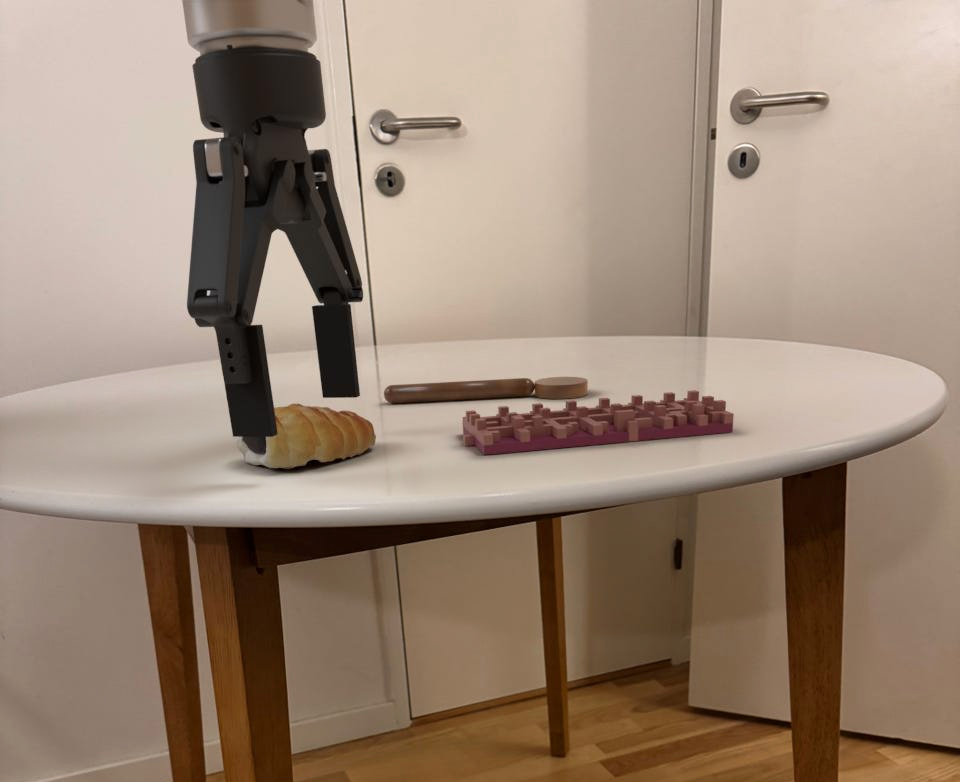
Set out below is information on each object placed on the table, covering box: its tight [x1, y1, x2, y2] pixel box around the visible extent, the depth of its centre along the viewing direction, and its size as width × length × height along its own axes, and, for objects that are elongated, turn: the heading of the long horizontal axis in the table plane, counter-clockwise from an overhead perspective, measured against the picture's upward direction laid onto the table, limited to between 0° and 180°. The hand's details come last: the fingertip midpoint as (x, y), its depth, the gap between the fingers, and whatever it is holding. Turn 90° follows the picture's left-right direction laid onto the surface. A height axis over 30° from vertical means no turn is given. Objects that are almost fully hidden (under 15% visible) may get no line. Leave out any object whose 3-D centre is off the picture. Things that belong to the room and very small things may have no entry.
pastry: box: [237, 403, 377, 470], centre depth 65 cm, size 9×7×4 cm
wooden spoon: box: [383, 376, 589, 404], centre depth 84 cm, size 18×5×2 cm, turn 93°
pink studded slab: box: [461, 389, 735, 456], centre depth 68 cm, size 7×19×2 cm, turn 102°
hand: (302, 415), depth 64 cm, fingers open, 13 cm apart
